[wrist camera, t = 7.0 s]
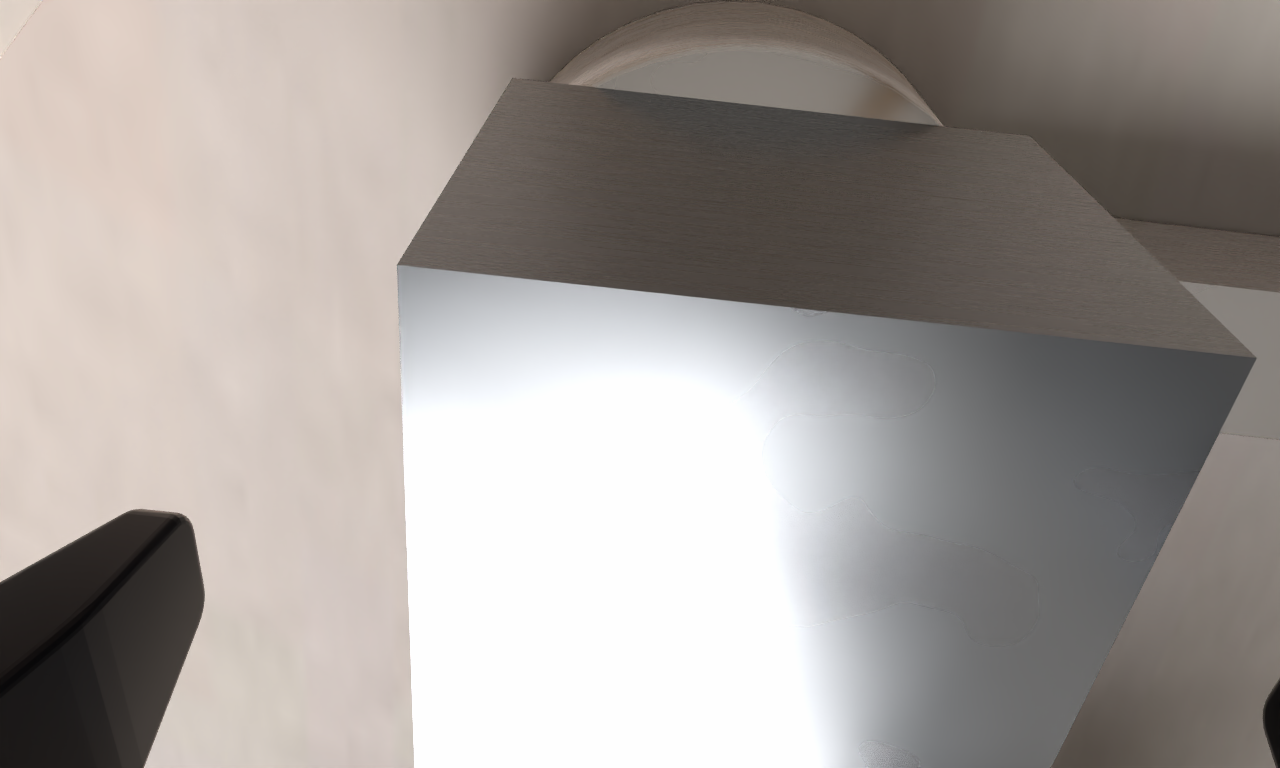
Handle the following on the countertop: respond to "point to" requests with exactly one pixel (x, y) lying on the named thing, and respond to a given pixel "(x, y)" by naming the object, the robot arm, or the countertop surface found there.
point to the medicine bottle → (14, 19)
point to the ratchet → (874, 88)
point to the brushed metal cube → (779, 439)
